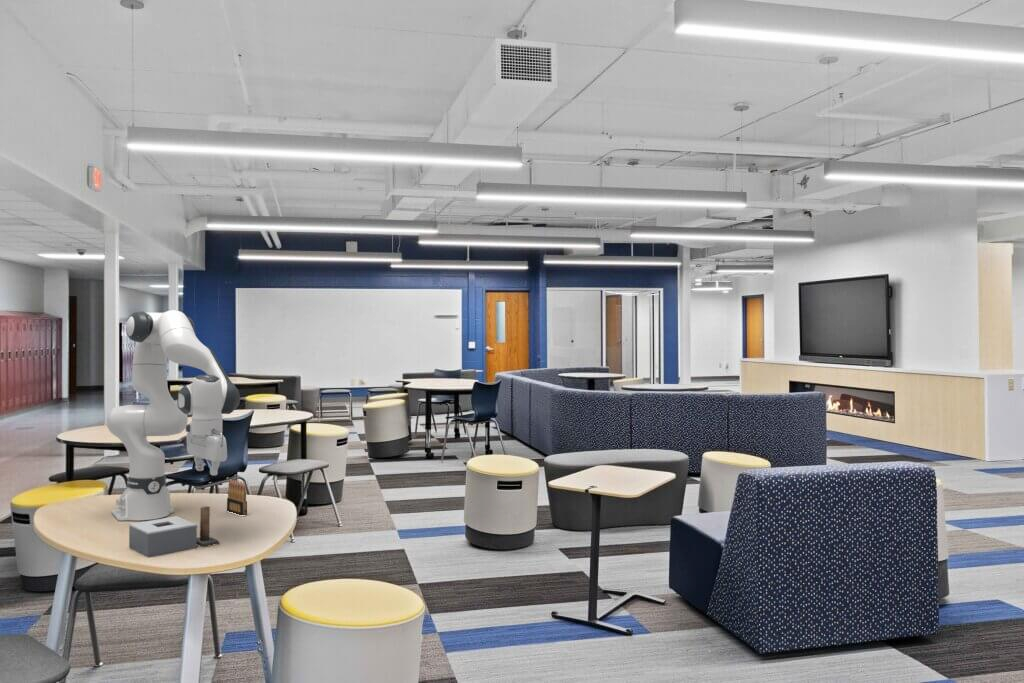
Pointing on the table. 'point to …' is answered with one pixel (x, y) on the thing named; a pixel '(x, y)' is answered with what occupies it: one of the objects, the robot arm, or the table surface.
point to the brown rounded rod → (204, 523)
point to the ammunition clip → (237, 498)
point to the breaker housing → (162, 536)
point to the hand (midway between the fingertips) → (206, 472)
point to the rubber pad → (207, 542)
